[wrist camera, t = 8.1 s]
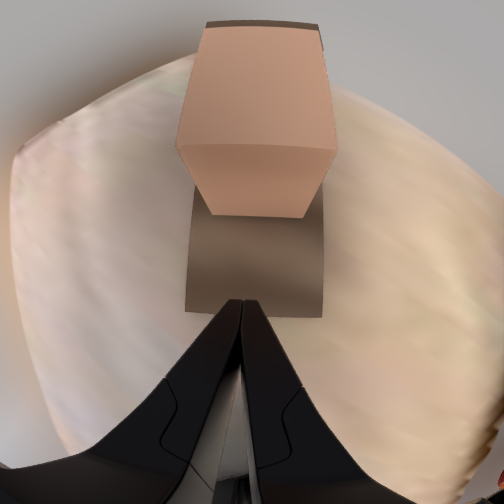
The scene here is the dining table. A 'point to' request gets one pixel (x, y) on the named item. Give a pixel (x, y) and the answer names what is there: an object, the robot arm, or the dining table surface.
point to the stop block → (257, 249)
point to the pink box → (258, 120)
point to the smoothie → (501, 481)
